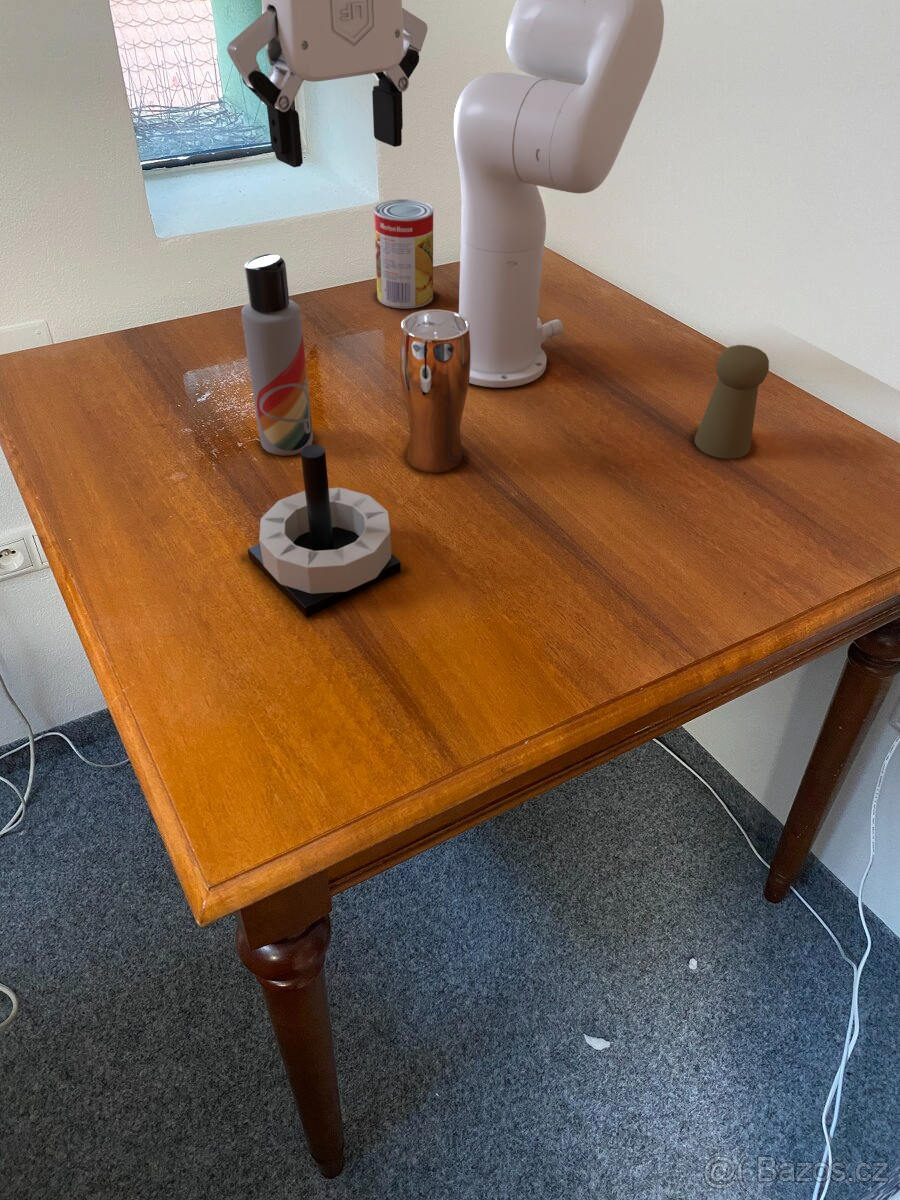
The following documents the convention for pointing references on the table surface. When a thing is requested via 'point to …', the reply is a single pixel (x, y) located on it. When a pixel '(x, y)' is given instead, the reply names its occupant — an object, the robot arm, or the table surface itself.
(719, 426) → the olive pawn figure
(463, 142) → the robot arm
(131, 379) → the table surface
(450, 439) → the beer glass
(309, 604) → the post
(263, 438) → the lotion bottle
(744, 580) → the table surface
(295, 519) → the tape roll
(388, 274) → the canned food
